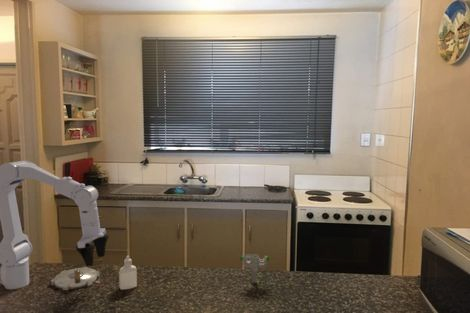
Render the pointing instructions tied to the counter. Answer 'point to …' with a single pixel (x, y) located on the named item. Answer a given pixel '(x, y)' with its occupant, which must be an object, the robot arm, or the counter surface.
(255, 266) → the mechanical component
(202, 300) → the counter surface
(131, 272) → the eye dropper bottle
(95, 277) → the tabbed shallow bowl
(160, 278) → the counter surface
